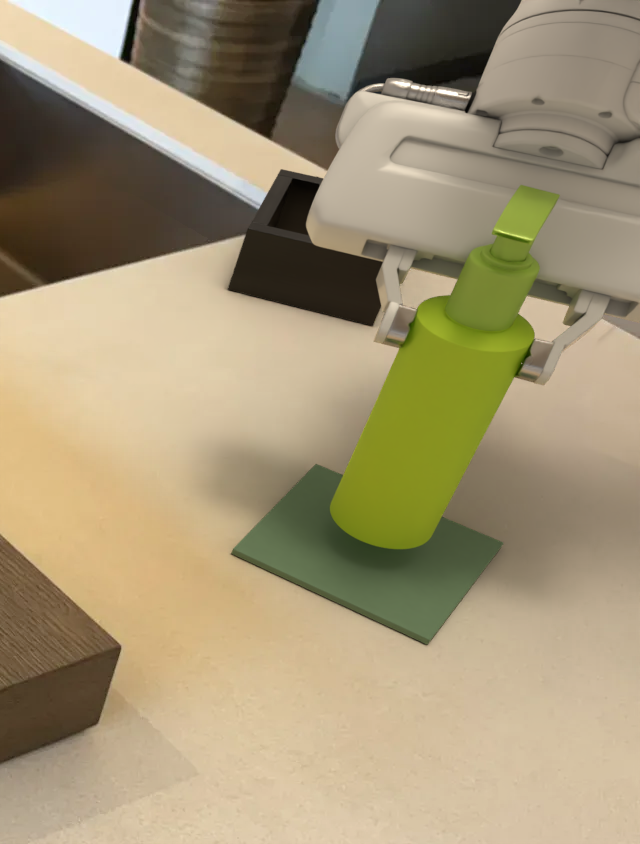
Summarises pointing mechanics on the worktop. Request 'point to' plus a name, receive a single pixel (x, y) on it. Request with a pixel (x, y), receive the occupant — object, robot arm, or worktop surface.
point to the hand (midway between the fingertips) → (459, 360)
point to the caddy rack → (302, 258)
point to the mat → (367, 560)
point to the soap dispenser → (444, 388)
